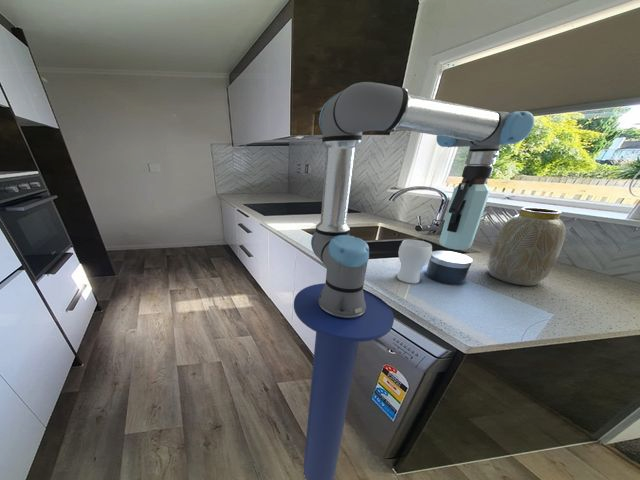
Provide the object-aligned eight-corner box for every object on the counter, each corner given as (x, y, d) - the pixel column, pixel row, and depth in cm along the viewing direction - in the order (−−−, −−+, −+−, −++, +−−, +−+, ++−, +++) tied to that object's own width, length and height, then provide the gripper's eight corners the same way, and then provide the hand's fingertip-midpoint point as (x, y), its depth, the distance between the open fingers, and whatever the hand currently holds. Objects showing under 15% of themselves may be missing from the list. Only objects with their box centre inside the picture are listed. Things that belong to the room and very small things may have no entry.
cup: (387, 275, 100) (394, 240, 94) (406, 271, 103) (415, 237, 97) (409, 287, 91) (418, 250, 85) (430, 282, 94) (441, 246, 88)
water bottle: (474, 252, 86) (499, 179, 77) (439, 248, 91) (459, 178, 81) (467, 244, 94) (490, 177, 85) (436, 240, 99) (454, 176, 89)
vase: (550, 280, 93) (585, 211, 83) (535, 293, 85) (572, 218, 75) (492, 265, 107) (516, 203, 97) (475, 274, 99) (499, 209, 89)
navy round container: (418, 274, 100) (423, 254, 97) (436, 267, 106) (442, 248, 102) (453, 288, 89) (461, 266, 86) (471, 280, 95) (479, 258, 91)
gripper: (475, 166, 74) (454, 236, 82) (508, 164, 83) (486, 227, 92) (448, 166, 80) (430, 231, 88) (481, 164, 89) (463, 223, 98)
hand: (459, 229), depth 90 cm, fingers closed on water bottle, 10 cm apart
